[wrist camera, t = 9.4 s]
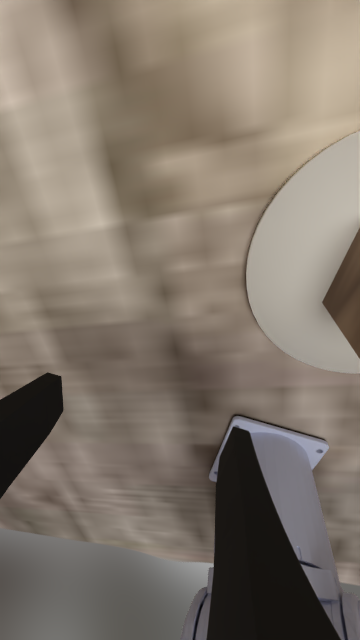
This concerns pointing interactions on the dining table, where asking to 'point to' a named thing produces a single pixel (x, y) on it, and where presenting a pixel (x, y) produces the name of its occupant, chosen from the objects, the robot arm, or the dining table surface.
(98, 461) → the dining table surface
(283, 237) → the cream plate
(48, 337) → the dining table surface
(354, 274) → the walnut block
